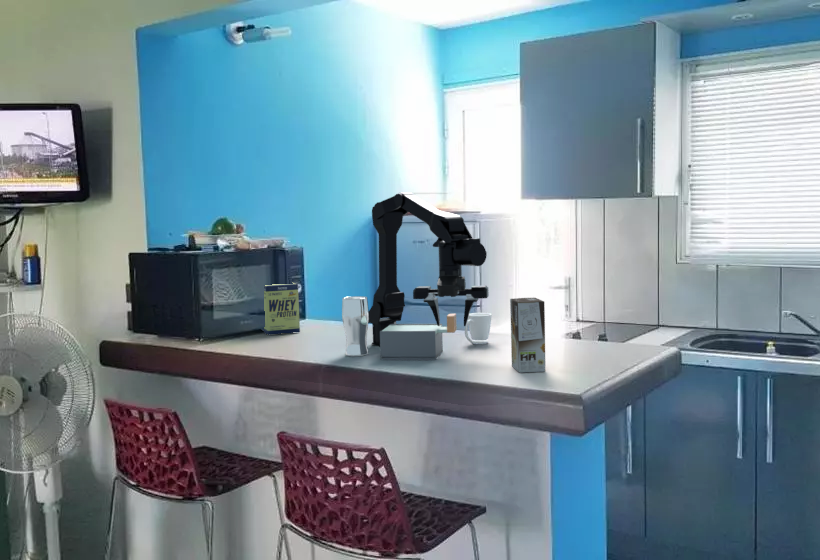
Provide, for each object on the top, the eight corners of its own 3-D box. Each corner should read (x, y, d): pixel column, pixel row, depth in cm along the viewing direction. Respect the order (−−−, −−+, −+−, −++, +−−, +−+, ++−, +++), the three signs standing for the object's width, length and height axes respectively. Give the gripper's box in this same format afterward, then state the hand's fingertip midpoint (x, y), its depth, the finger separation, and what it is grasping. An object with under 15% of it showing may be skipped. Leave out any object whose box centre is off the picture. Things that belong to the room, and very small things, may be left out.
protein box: (267, 335, 249) (265, 285, 247) (258, 329, 263) (256, 282, 262) (300, 333, 252) (298, 283, 251) (289, 327, 267) (287, 280, 266)
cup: (497, 342, 223) (497, 313, 222) (476, 347, 216) (475, 317, 215) (477, 340, 228) (476, 312, 227) (455, 345, 220) (455, 316, 219)
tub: (380, 359, 201) (379, 331, 201) (390, 350, 214) (390, 324, 214) (435, 359, 199) (435, 331, 198) (442, 350, 212) (442, 323, 211)
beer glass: (374, 352, 212) (372, 296, 211) (364, 357, 206) (362, 299, 205) (349, 351, 215) (347, 296, 213) (339, 356, 208) (337, 299, 207)
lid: (380, 334, 202) (380, 318, 201) (389, 328, 213) (388, 312, 212) (452, 334, 199) (452, 317, 198) (457, 327, 210) (457, 312, 209)
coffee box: (546, 371, 180) (545, 301, 179) (518, 373, 180) (517, 302, 178) (536, 364, 189) (535, 296, 188) (510, 365, 189) (508, 298, 188)
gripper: (408, 267, 197) (410, 330, 198) (484, 266, 193) (485, 330, 195) (415, 264, 207) (417, 324, 209) (488, 263, 204) (489, 324, 206)
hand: (451, 326), depth 204 cm, fingers open, 6 cm apart
